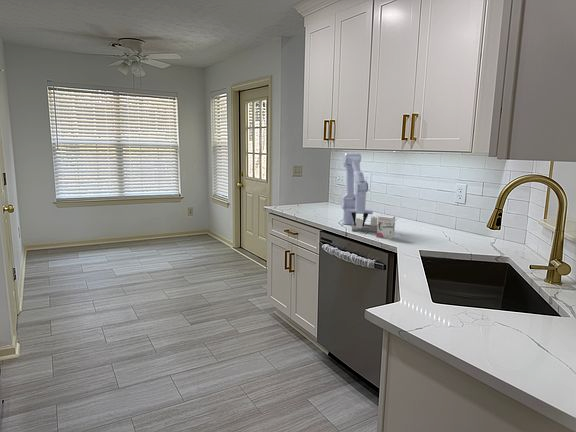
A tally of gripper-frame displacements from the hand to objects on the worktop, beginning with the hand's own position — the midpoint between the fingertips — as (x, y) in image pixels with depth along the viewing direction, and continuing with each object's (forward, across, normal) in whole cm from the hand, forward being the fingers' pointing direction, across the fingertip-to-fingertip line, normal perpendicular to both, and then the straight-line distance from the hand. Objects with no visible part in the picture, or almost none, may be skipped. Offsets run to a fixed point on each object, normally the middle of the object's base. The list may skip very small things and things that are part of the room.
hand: (359, 225), depth 237 cm
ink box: (+3, +14, -14) cm, 20 cm away
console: (+3, +6, +4) cm, 7 cm away
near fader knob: (+1, 0, 0) cm, 1 cm away
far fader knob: (+1, +9, +9) cm, 13 cm away
